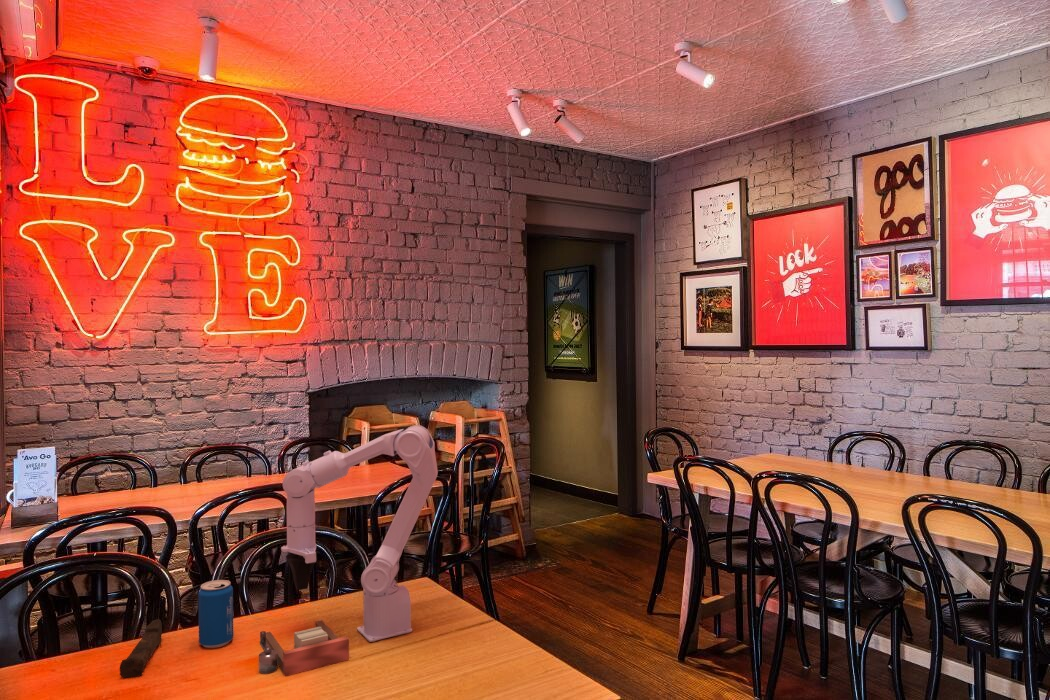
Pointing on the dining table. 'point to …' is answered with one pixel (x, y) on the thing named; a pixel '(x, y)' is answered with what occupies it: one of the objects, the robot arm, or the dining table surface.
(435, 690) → the dining table surface
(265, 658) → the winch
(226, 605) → the beverage can
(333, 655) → the bay
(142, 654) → the dark brown rough bar
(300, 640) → the crate
